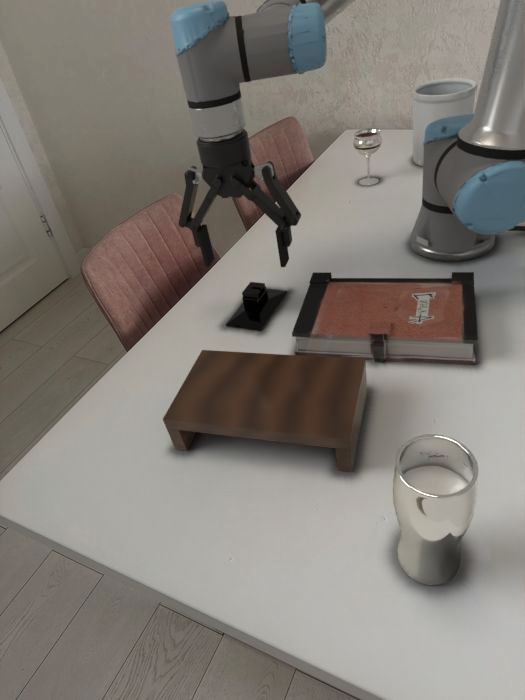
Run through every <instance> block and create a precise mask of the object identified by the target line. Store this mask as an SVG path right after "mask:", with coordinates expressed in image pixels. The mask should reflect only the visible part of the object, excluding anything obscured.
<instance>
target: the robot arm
mask: <svg viewBox="0 0 525 700" xmlns="http://www.w3.org/2000/svg"><path fill="white" fill-rule="evenodd" d="M355 1H356V0H265V1H264V2H263V3H261V5H260V6H259V7H258V8H257V9H256V12H252V13H249V14H245V15H231V16H230V12H229V11H228V8H227V4H226V3H225V2H224V0H210V1H204V2H199V3H193V4H189V5H184V6H181V7H179V8H176V9H175V10H173V12H172V13H171V15H170V18H169V19H170V20H169V22H170V26H171V28H170V29H171V33H172V39H173V42H174V49H175V52H174V54H175V57H176V61H177V65H178V69H179V73H180V76H181V81H182V86H183V88H184V94H185V98H186V102H187V106H188V110H189V115H190V120H191V125H192V129H193V135H194V136H195V137H197V139H196V147H197V151H198V155H199V161H200V164H201V165H202V168H197V166H195V165H192V166H190V167H189V168H188V169H187V170H186V171H185V172H184V174H183V175H184V181H185V189H184V194H183V199H182V204H181V209H180V214H179V218H178V226H179V227H180V228H182V229H183V228H187V229H189V230H190V231H191V234H192V237H193V241H194V245H195V246H196V248H200V252H201V255H202V259H203V263H204V267H210V266H211V265H212V263H213V262H214V261H215V253H214V250H213V246H212V242H211V238H210V233H209V229H208V225H207V224H203V221H204V220H205V218H206V215H207V214H208V213H209V211H210V210H211V209H210V208H211V207H212V205H213V203H214V202H215V200H216V198H217V196H219V197H221V199H228V198H234V199H235V198H236V199H239V198H242V197H245V198H246V199H247V201H251V202H252V203H253V204H254V205H255V206H256V207H257V208H258V209H260V211H261V212H262V213H264V215H266V216H267V217H268V218H269V219H270V220H271V221H272V222H273V223H274V224H275V225H276V226H277V227H276V229H275V231H274V232H275V237H276V244H277V245H276V246H277V251H278V257H279V264H280V268H286V266H287V264H288V262H289V261H290V255H289V247H291V245H292V243H293V235H292V227H295V226H297V225H298V224H299V221H300V220H301V218H302V214H301V211H300V210H299V208H298V207H297V205H296V204H295V202H294V201H293V199H292V198H291V196H290V194H289V193H288V191H287V189H285V187H284V185H283V184H282V182H281V180H280V179H279V177H278V176H277V172H276V169H275V165H274V162H272V161H270V160H269V161H266V163H265V164H261V165H256V166H255V164H254V162H253V160H252V151H251V145H250V141H249V140H250V139H249V134H248V131H247V130H246V129H245V128H246V126H247V122H246V117H245V112H244V111H245V110H244V105H243V104H244V103H243V98H242V93H241V86H240V84H242V83H250V82H253V81H260V80H265V79H266V80H267V79H272V78H278V77H284V76H290V75H291V76H292V75H297V74H298V75H304V73H307V72H311V71H314V70H319V69H321V68H324V66H325V64H326V62H327V57H328V56H327V55H328V53H327V52H328V48H327V27H326V26H327V24H329V23H330V22H331V21H333V20H334V19H335V18H336V17H337V16H339V14H341V13H342V12H344V10H346V9H347V8H348V7H349V6H350V5H351V4H353V3H354V2H355ZM423 145H424V156H423V166H422V186H421V187H422V188H421V189H422V191H421V197H422V198H421V207H420V209H419V212H418V214H417V217H416V220H415V222H414V226H413V228H412V230H411V233H410V245H411V249H412V250H413V251H414V252H415V253H416V254H418V255H420V256H422V257H424V258H426V259H430V260H433V261H434V260H435V261H439V262H461V261H462V262H463V261H469V260H473V259H477V258H479V257H482V256H484V255H486V254H488V252H490V251H492V249H493V247H494V246H495V242H496V241H495V240H496V235H497V234H502V233H506V232H525V225H519V224H521V223H524V222H525V0H500V1H499V5H498V9H497V14H496V17H495V22H494V27H493V31H492V34H491V40H490V44H489V48H488V53H487V57H486V61H485V64H484V70H483V73H482V77H481V82H480V87H479V91H478V94H477V99H476V104H475V109H474V111H473V114H466V115H458V116H452V117H447V118H443V119H439V120H436V121H434V122H432V123H430V124H429V125H428V126H427V128H426V130H425V137H424V142H423ZM256 176H257V177H258V178H259V179H260V181H261V182H264V184H265V186H266V188H267V190H268V191H269V193H270V195H271V196H272V198H273V199H274V200H273V199H272V198H271V197H270V196H269V195H267V193H265V192H264V190H262V187H261V185H260V184H258V182H256V180H254V179H255V178H256ZM202 179H203V181H204V182H205V183H206V185H208V186H209V189H208V191H207V193H206V195H205V197H204V199H203V201H202V203H201V204H200V206H199V208H198V210H197V211H196V213H195V215H194V217H192V216H193V213H194V212H193V211H194V208H195V207H194V206H195V202H196V197H197V192H198V189H199V184H200V182H201V181H202Z"/></svg>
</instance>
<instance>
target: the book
mask: <svg viewBox="0 0 525 700" xmlns="http://www.w3.org/2000/svg"><path fill="white" fill-rule="evenodd" d="M310 276H311V277H310V279H309V281H308V282H309V285H308V288H307V291H306V293H305V296H304V299H303V301H302V304H301V307H300V310H299V312H298V315H297V318H296V320H295V324H294V326H293V329H292V332H291V336H292V338H295V340H296V349H295V350H294V355H298V356H315V357H332V358H349V359H365V360H369V361H370V360H372V361H374V363H384V361H391V362H393V361H394V362H410V363H431V364H447V365H467V366H469V365H471V366H475V365H476V350H475V349H476V348H475V345H478V344H479V335H478V333H479V332H478V321H477V320H478V319H477V307H476V293H475V291H476V290H475V272H474V271H452V272H451V277H437V278H436V277H425V278H424V277H333V275H332V272H327V271H325V272H320V271H319V272H312V274H311V275H310Z"/></svg>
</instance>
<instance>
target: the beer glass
mask: <svg viewBox="0 0 525 700" xmlns="http://www.w3.org/2000/svg"><path fill="white" fill-rule="evenodd" d="M394 462H395V463H394V471H393V478H392V501H393V503H392V504H393V507H394V513H395V516H396V519H397V523H398V526H399V529H400V533H401V536H400V538H399V541H398V544H397V549H396V552H397V560H398V562H399V565H400V567H401V568H402V570H403V571H404V573H406V575H407V576H408V577H410V578H411V579H412V580H414V581H416V582H417V583H420V584H423V585H426V586H440V585H444V584H446V583H448V582H450V581H452V580H453V579H454V578H455V577H456V576H457V574H458V572H459V570H460V567H461V551H460V548H459V546H460V543H461V541H462V540H463V538H464V536H465V535H466V533H467V531H468V529H469V527H470V525H471V522H472V520H473V518H474V514H475V510H476V505H477V498H478V483H479V482H478V481H479V480H478V478H479V464H478V461H477V458H476V457H475V455H474V454H473V452H472V451H471V450H470V449H469V448H468V447H467V446H466V445H465V444H463V443H462V442H460V441H459V440H457V439H454V438H453V437H450V436H447V435H442V434H435V433H431V434H421V435H417V436H413V437H412V438H410V439H408V440H406V441H405V442H404V443H403V444H402V445H401V446H400V447H399V449H398V451H397V452H396V455H395V461H394Z"/></svg>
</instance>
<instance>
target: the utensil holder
mask: <svg viewBox="0 0 525 700" xmlns="http://www.w3.org/2000/svg"><path fill="white" fill-rule="evenodd" d="M477 89H478V81H477V80H475V79H472V78H466V77H445V78H438V79H433V80H428V81H424V82H423V83H420V84H417V85H416V86H414V87H413V88H412V90H411V91H412V93H411V96H412V98H413V99H412V100H413V102H412V161H413V163H414V164H416V165H418V166H420V167H423V156H424V145H423V142H424V137H425V130H426V128H427V126H428V125H429V124H430V123H432V122H434V121H436V120H439V119H443V118H447V117H452V116H458V115H466V114H474V107H475V97H476V92H477Z"/></svg>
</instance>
